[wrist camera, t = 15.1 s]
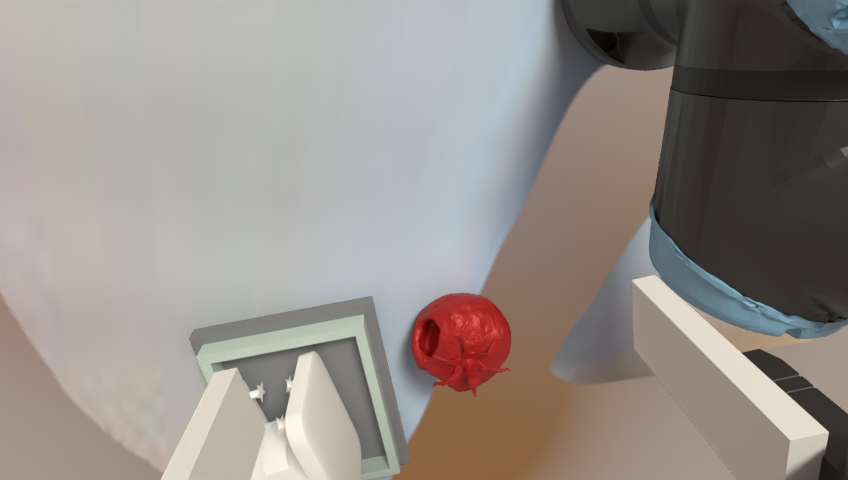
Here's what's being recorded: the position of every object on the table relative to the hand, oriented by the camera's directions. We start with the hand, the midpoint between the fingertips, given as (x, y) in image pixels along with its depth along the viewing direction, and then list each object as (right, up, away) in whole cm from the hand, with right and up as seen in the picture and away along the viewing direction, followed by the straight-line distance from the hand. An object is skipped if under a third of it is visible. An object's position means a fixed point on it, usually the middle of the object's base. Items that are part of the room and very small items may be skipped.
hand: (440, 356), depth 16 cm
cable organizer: (-14, -14, +36) cm, 41 cm away
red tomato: (+3, -5, +35) cm, 36 cm away
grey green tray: (-13, -13, +37) cm, 41 cm away
